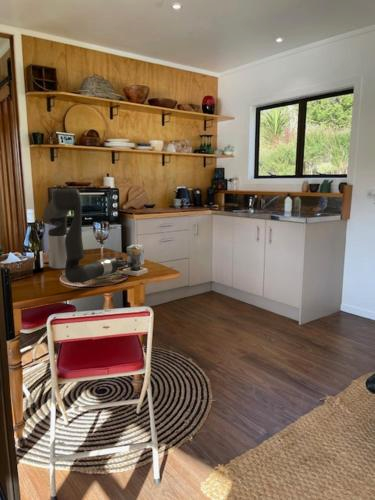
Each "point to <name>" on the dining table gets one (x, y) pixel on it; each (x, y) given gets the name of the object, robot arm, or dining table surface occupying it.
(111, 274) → the sage tray
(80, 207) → the robot arm
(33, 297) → the dining table surface
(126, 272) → the checker socket
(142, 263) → the light bulb box
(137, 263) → the battery cell
